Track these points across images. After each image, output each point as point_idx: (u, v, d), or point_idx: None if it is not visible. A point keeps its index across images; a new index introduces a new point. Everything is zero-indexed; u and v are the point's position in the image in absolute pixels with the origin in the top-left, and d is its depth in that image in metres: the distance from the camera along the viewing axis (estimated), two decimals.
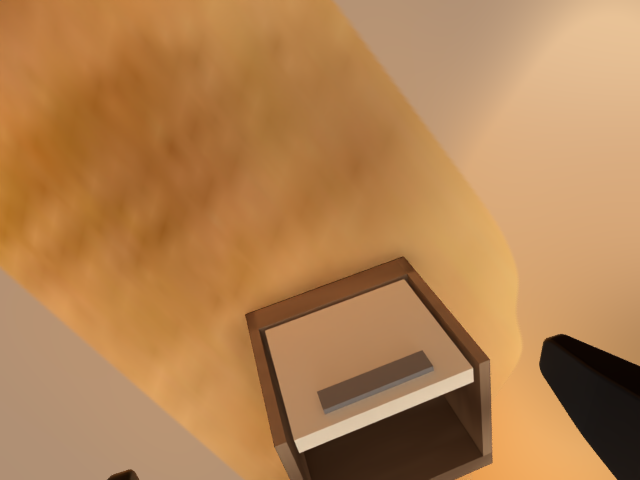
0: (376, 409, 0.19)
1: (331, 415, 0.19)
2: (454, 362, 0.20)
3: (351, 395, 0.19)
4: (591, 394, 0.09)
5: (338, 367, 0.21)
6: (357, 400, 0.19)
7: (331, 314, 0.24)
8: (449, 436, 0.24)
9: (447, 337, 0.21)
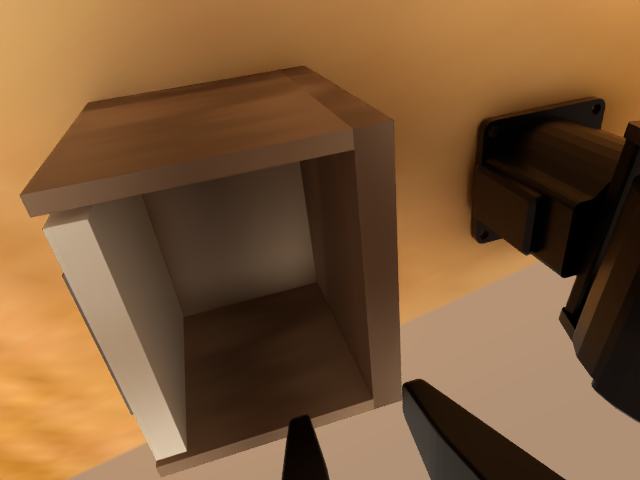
0: (122, 376, 0.12)
1: None
2: None
3: None
4: (434, 448, 0.08)
5: None
6: None
7: None
8: (337, 165, 0.12)
9: None
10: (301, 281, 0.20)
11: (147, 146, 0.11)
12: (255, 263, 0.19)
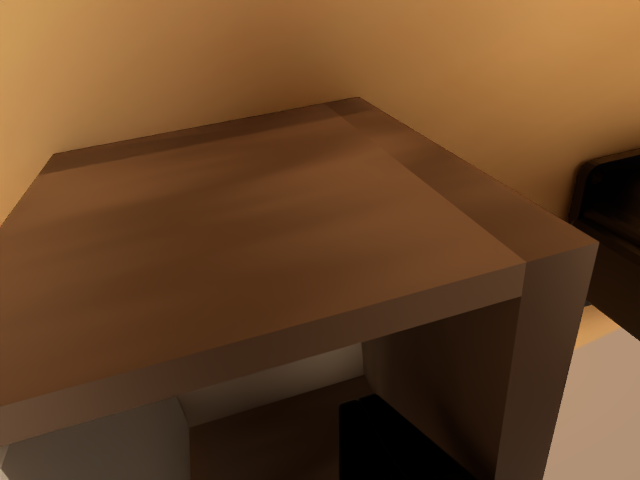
0: None
1: None
2: None
3: None
4: None
5: None
6: None
7: None
8: None
9: None
10: (344, 375, 0.16)
11: (130, 280, 0.06)
12: None
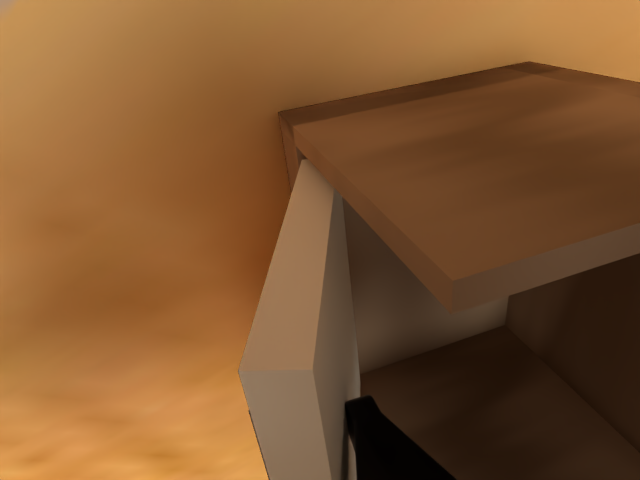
0: None
1: None
2: None
3: None
4: None
5: None
6: None
7: None
8: None
9: (268, 277, 0.07)
10: (489, 325, 0.17)
11: (528, 180, 0.07)
12: None
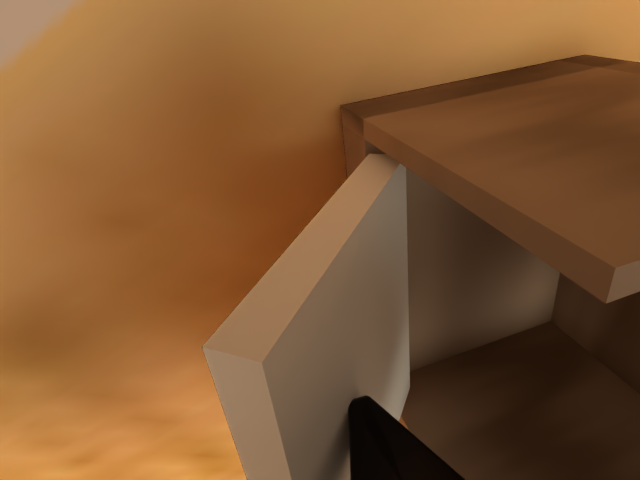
0: None
1: None
2: None
3: None
4: None
5: None
6: None
7: None
8: None
9: (276, 265, 0.07)
10: (536, 321, 0.17)
11: None
12: (497, 303, 0.16)
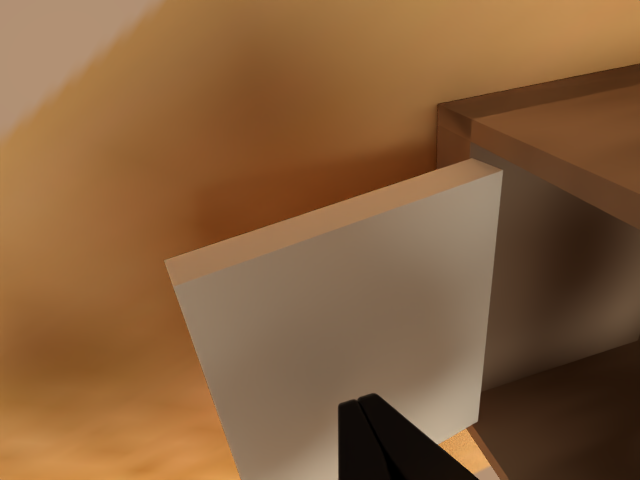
0: None
1: None
2: None
3: None
4: None
5: None
6: None
7: None
8: None
9: None
10: (622, 340, 0.15)
11: None
12: (585, 320, 0.14)
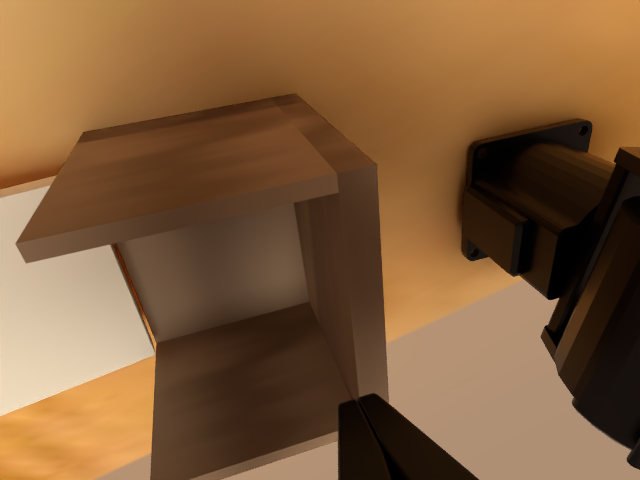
0: None
1: None
2: None
3: None
4: None
5: None
6: None
7: None
8: (324, 201, 0.13)
9: None
10: (294, 301, 0.21)
11: (139, 188, 0.11)
12: (248, 284, 0.20)
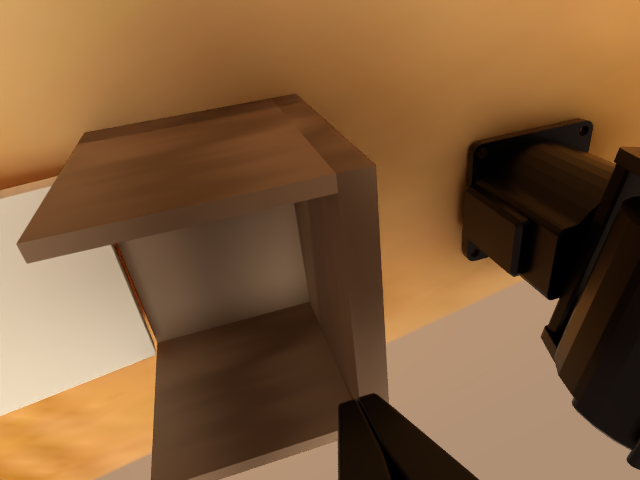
0: None
1: None
2: None
3: None
4: None
5: None
6: None
7: None
8: (323, 202, 0.13)
9: None
10: (294, 301, 0.21)
11: (139, 188, 0.11)
12: (249, 284, 0.20)
